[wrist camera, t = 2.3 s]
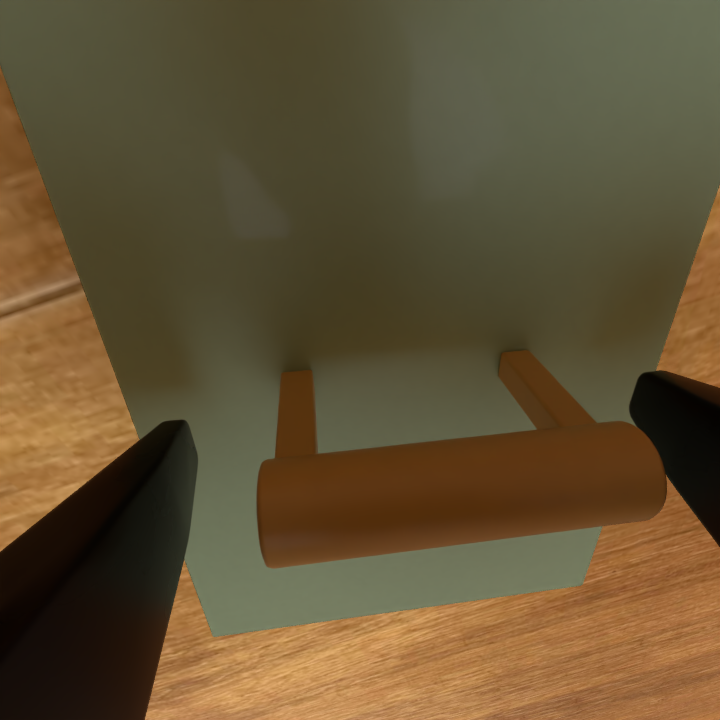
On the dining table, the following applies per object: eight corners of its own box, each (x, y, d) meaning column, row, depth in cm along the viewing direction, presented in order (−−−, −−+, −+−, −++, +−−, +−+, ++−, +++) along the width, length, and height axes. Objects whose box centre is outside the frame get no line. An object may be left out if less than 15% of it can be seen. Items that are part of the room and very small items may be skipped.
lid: (570, 565, 16) (675, 743, 12) (216, 613, 15) (180, 829, 11) (753, -21, 8) (1352, -187, 3) (2, 0, 7) (-565, -204, 2)
